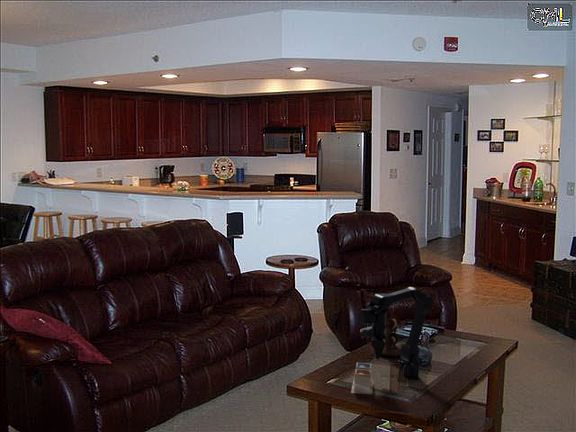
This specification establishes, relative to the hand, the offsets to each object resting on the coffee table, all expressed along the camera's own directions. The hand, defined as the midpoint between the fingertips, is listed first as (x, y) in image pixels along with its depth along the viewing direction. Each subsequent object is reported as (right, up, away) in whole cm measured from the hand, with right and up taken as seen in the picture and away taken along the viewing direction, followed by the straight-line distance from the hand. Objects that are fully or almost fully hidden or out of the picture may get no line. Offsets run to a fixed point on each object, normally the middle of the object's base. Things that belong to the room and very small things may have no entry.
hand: (377, 356), depth 295 cm
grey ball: (-6, -7, -2) cm, 9 cm away
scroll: (+13, -9, +44) cm, 46 cm away
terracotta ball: (-7, -8, -11) cm, 15 cm away
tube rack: (-8, -13, -6) cm, 16 cm away
